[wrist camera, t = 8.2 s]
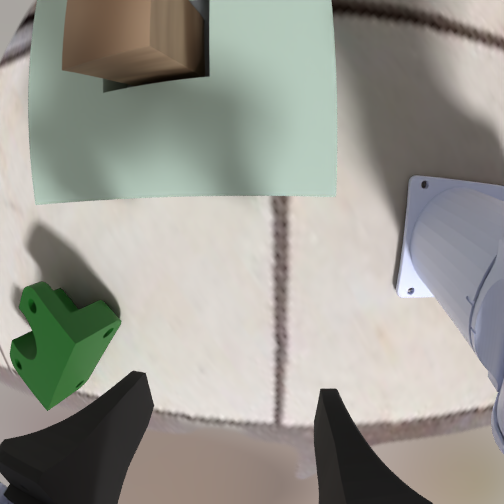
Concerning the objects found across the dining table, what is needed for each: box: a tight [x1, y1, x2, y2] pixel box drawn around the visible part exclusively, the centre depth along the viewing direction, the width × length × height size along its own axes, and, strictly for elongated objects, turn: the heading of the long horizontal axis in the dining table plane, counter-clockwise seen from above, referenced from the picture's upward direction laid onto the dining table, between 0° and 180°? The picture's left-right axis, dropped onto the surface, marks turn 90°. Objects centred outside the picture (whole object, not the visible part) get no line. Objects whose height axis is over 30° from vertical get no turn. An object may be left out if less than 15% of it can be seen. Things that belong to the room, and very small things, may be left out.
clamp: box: [10, 282, 121, 411], centre depth 22 cm, size 12×6×9 cm, turn 137°
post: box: [62, 0, 205, 86], centre depth 12 cm, size 4×4×8 cm
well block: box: [28, 0, 337, 205], centre depth 15 cm, size 18×18×4 cm
